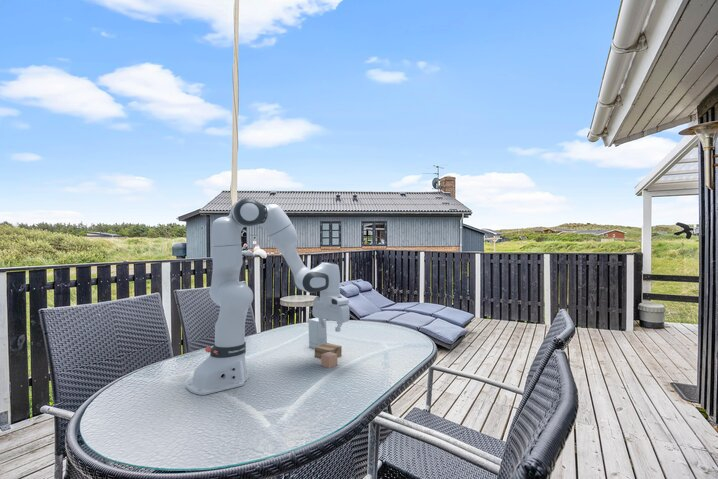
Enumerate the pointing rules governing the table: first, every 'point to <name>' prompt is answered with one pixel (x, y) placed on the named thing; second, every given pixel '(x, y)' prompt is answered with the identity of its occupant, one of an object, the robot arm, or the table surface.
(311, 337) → the skincare box
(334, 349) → the walnut block
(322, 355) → the terracotta cube
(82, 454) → the table surface
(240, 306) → the robot arm
